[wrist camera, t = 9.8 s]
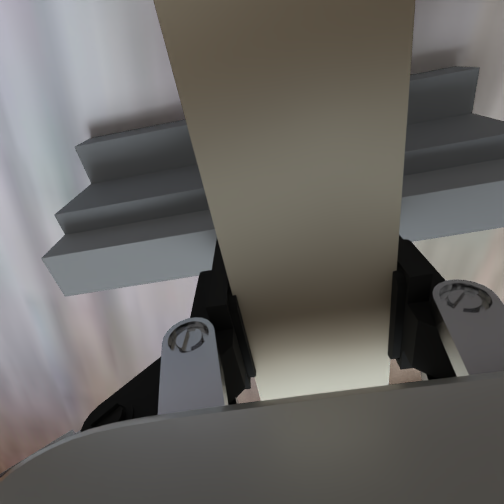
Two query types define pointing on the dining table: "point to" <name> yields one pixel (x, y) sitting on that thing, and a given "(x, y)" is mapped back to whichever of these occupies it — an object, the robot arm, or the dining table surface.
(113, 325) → the dining table surface
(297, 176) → the birch bar
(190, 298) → the dining table surface
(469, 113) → the ridge block
